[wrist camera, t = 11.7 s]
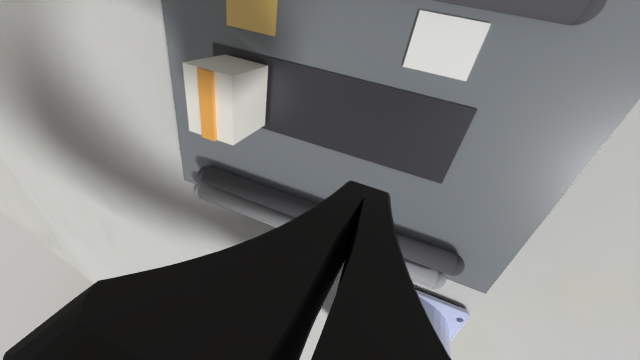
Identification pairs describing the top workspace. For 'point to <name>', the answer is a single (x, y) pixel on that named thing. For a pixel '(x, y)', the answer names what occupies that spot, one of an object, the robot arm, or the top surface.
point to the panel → (418, 108)
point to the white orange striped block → (225, 97)
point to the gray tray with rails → (420, 258)
